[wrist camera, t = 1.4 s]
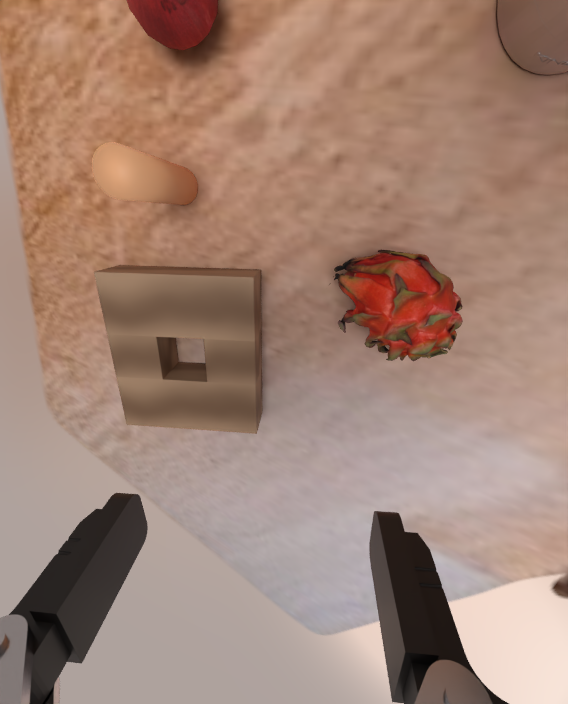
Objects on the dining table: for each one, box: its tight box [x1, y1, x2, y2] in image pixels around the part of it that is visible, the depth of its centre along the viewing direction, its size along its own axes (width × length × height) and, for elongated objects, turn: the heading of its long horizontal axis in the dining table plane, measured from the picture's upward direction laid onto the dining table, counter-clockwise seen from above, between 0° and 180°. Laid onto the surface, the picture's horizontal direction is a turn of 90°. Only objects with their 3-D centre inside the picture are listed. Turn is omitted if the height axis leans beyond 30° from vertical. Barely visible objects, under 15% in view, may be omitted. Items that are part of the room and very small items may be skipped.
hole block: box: [94, 265, 262, 434], centre depth 32 cm, size 16×14×4 cm
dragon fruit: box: [330, 250, 462, 361], centre depth 27 cm, size 8×8×12 cm
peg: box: [92, 142, 198, 205], centre depth 23 cm, size 3×3×10 cm
